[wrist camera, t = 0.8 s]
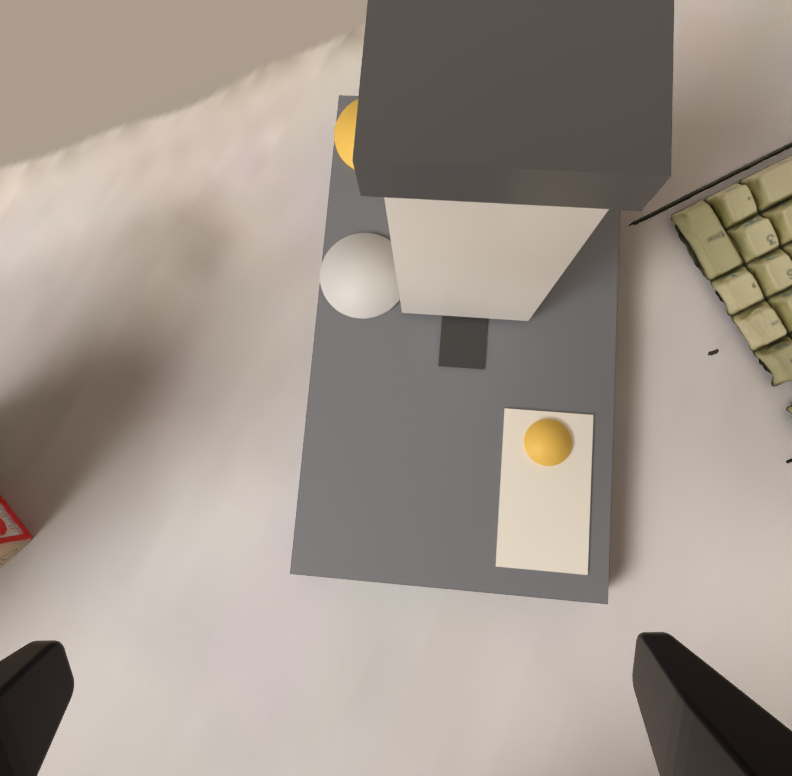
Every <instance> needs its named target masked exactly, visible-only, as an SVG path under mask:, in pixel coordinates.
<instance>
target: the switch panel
mask: <svg viewBox="0 0 792 776" xmlns="http://www.w3.org/2000/svg"><path fill="white" fill-rule="evenodd" d="M358 98H359V96H341V95H339V101H338V111H337V121H336V125H335V131H334V150H333V160H332V169H331V179H330V189H329V199H328V208H327V218H326V228H325V238H324V247H323V257H322V265H321V269H320V286H319V296H318V306H317V316H316V325H315V335H314V345H313V355H312V364H311V374H310V384H309V394H308V403H307V413H306V423H305V433H304V443H303V452H302V462H301V472H300V482H299V491H298V501H297V511H296V521H295V530H294V540H293V550H292V560H291V569H290V574H297V575H307V576H318V577H328V578H339V579H349V580H359V581H370V582H380V583H391V584H401V585H412V586H422V587H433V588H443V589H453V590H464V591H474V592H485V593H495V594H506V595H516V596H526V597H537V598H547V599H558V600H568V601H579V602H589V603H599V604H608V583H609V551H610V518H611V486H612V453H613V421H614V388H615V356H616V323H617V291H618V258H619V226H620V210H616V209H609V210H608V211H607V213H606V214H605V215H604V217H603V218H602V220H601V221H600V222H599V224H598V225H597V227H596V228H595V229H594V231H593V232H592V234H591V235H590V236H589V238H588V239H587V240H586V242H585V243H584V245H583V246H582V247H581V249H580V250H579V252H578V253H577V254H576V256H575V257H574V258H573V260H572V261H571V263H570V264H569V265H568V267H567V268H566V270H565V271H564V272H563V274H562V275H561V276H560V278H559V279H558V281H557V282H556V283H555V285H554V286H553V288H552V289H551V290H550V292H549V293H548V294H547V296H546V297H545V299H544V300H543V301H542V303H541V304H540V306H539V307H538V308H537V310H536V311H535V312H534V314H533V315H532V317H531V318H530V319H529V321H519V320H504V319H489V318H473V317H458V316H443V315H427V314H412V313H402V310H401V303H400V297H399V290H398V284H397V277H396V271H395V265H394V258H393V252H392V245H391V239H390V232H389V226H388V219H387V213H386V206H385V200H384V197H368V196H361V194H360V190H359V186H358V182H357V178H356V174H355V169H354V165H353V161H352V159H353V149H354V139H355V128H356V118H357V108H358Z"/></svg>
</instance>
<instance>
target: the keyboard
mask: <svg viewBox="0 0 792 776" xmlns="http://www.w3.org/2000/svg"><path fill="white" fill-rule="evenodd" d="M790 147H792V143H790V144H788V145H785V146H784V147H782V148H780V149H778V150H776V151H774V152H772V153H770V154H768V155H766V156H764V157H762V158H760V159H758V160H756V161H754V162H752V163H750V164H748V165H746V166H744V167H742V168H740V169H738V170H736V171H733V172H731V173H730V174H728V175H726V176H724V177H722V178H720V179H718V180H716V181H714V182H712V183H710V184H708V185H706V186H704V187H702V188H700V189H698V190H696V191H694V192H692V193H690V194H688V195H685V196H684V197H682V198H680V199H678V200H676V201H674V202H672V203H670V204H668V205H666V206H664V207H662V208H660V209H658V210H657V211H655V212H652V213H651V214H649V215H647V216H645V217H642V218H640V219H639V220H637V221H634V222H633V223H631V224H630V225H632V224H634V225H635V224H638V223H639V222H641V221H644V220H646V219H648V218H650V217H652V216H654V215H656V214H658V213H660V212H662V211H664V210H666V209H668V208H670V207H672V206H674V205H676V204H678V203H680V202H682V201H684V200H687V199H689V198H690V197H692V196H694V195H695V194H697V193H699V192H701V191H703V190H705V189H708V188H710V187H712V186H714V185H716V184H718V183H720V182H722V181H724V180H726V179H728V178H730V177H732V176H734V175H736V174H738V173H740V172H742V171H744V170H746V169H749V168H750V167H752V166H754V165H756V164H758V163H760V162H761V161H763V160H766V159H768V158H770V157H772V156H774V155H777V154H779V153H781V152H782V151H784V150H786V149H789V148H790ZM671 220H672V221H673V222H674V223H675V228H676V231H677V232H678V235H679V237H680V239H681V240H682V242H683V243H684V244H685V245H686V246H687V249H688V251H689V254H690V255H691V257H692V259H693V260H694V263H695V265H696V266H697V267H698V268H699V269H700V270H701V272H702V273H703V275H704V276H705V277H706V278H707V279H708V280H710V281H711V285H712V286H713V287H714V288H715V290H716V294H717V296H718V297H719V299H720V300H721V301H723V302H724V303H725V305H726V307H727V314H728V315H730V316H731V318H732V321H733V322H734V323H735V324H736V325H737V326H738V328H739V330H740V332H741V333H742V334H743V335H744V337H745V338H746V339H747V341H748V342H749V345H750V349H751V350H752V351H753V353H754V355H755V356H756V357H758V358H760V359H759V363H760V364H761V365H763V367H764V369H765V370H766V371H768V372H769V373H772V375H773V378H772V382H771V385H772V386H778V385H780V384H781V383H784V382H786V381H792V155H791V156H789V157H787V158H785V159H783V160H782V161H780V162H778V163H776V164H773V165H772V166H769V167H767V168H766V169H764V170H761V171H759V172H758V173H756V174H754V175H751V176H749V177H747V178H744V179H742V180H740V181H739V183H734V184H732V185H731V186H730V187H728V188H726V189H724V190H722V191H720V192H718V193H716V194H714V195H713V196H709V197H707V198H706V199H705V200H704V201H698V202H696V203H694V204H692V205H691V206H689V207H688V208H686V209H684V210H681V211H679V212H676V213H674V214H673V215H671ZM630 225H629V226H630ZM718 351H719V350H718V349H716V350H714V351H710V352H708V355H713V354H716V353H718ZM786 410H787V411H788V412H790V413H792V405H791V406H788V407H787V408H786ZM790 462H792V459H789V460H787V461H786V463H790Z"/></svg>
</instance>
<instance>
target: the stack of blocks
mask: <svg viewBox="0 0 792 776" xmlns="http://www.w3.org/2000/svg"><path fill="white" fill-rule="evenodd" d="M31 540H32V536H31V535H30V533H29V532H28V531H27V529H26V528H25V527H24V525H23V524H22V523H21V521H20V520H19V519H18V518H17V516H16V515H15V514H14V512H13V511H12V510H11V508H10V507H9V506H8V505H7V503H6V502H5V501H4V499H3V498H2V497H1V495H0V568H1V567H2V566H3V565H4V564H5V563H6V562H8V561H9V560H10V559H11V558H12V557H13V556H14V555H16V554H17V553H18V552H19V551H20V550H21V549H22V548H24V547H25V546H26V545H27V544H28V543H29V542H30V541H31Z"/></svg>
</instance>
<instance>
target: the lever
mask: <svg viewBox="0 0 792 776" xmlns="http://www.w3.org/2000/svg"><path fill="white" fill-rule="evenodd" d="M673 33H674V0H368V5H367V16H366V26H365V36H364V46H363V57H362V67H361V77H360V87H359V98H358V108H357V118H356V128H355V139H354V149H353V159H352V161H353V165H354V169H355V174H356V178H357V182H358V186H359V190H360V194H361V196H368V197H384V200H385V206H386V213H387V219H388V226H389V232H390V239H391V245H392V252H393V258H394V265H395V271H396V277H397V284H398V290H399V297H400V303H401V310H402V313H412V314H427V315H443V316H458V317H473V318H489V319H504V320H519V321H529V319H530V318H531V317H532V315H533V314H534V312H535V311H536V310H537V308H538V307H539V306H540V304H541V303H542V301H543V300H544V299H545V297H546V296H547V294H548V293H549V292H550V290H551V289H552V288H553V286H554V285H555V283H556V282H557V281H558V279H559V278H560V276H561V275H562V274H563V272H564V271H565V270H566V268H567V267H568V265H569V264H570V263H571V261H572V260H573V258H574V257H575V256H576V254H577V253H578V252H579V250H580V249H581V247H582V246H583V245H584V243H585V242H586V240H587V239H588V238H589V236H590V235H591V234H592V232H593V231H594V229H595V228H596V227H597V225H598V224H599V222H600V221H601V220H602V218H603V217H604V215H605V214H606V213H607V211H608V210H609V209H616V210H635V211H641V210H642V209H643V208H644V207H645V206H646V205H647V203H648V202H649V201H650V200H651V199H652V198H653V196H654V195H655V194H656V193H657V192H658V191H659V189H660V188H661V187H662V186H663V185H664V184H665V182H666V181H667V180H668V179H669V178H670V176H671V141H672V87H673Z"/></svg>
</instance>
